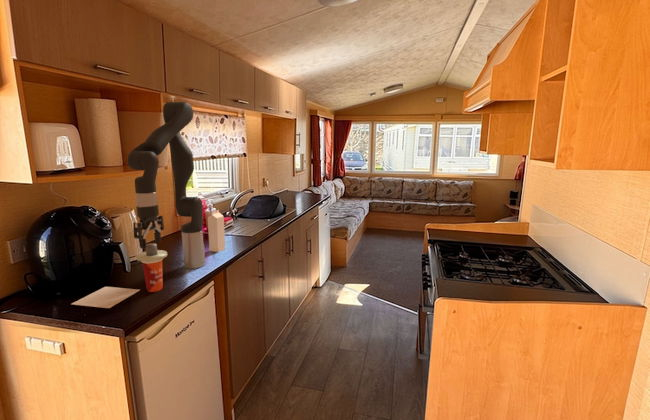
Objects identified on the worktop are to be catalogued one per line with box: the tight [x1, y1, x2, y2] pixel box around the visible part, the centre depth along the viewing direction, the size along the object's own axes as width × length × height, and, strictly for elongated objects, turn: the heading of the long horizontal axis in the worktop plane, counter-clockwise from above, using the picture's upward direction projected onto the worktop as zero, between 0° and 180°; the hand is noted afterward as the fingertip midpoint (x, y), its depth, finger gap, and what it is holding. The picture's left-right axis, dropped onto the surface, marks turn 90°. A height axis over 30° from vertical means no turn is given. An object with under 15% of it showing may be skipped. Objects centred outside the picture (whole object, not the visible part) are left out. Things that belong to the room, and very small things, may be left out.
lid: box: [135, 242, 168, 262], centre depth 137 cm, size 11×11×5 cm
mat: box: [71, 286, 141, 309], centre depth 133 cm, size 16×16×1 cm
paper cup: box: [140, 258, 164, 293], centre depth 139 cm, size 8×8×14 cm
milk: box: [207, 209, 226, 253], centre depth 191 cm, size 6×6×22 cm
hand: (150, 245), depth 137 cm, fingers open, 8 cm apart
